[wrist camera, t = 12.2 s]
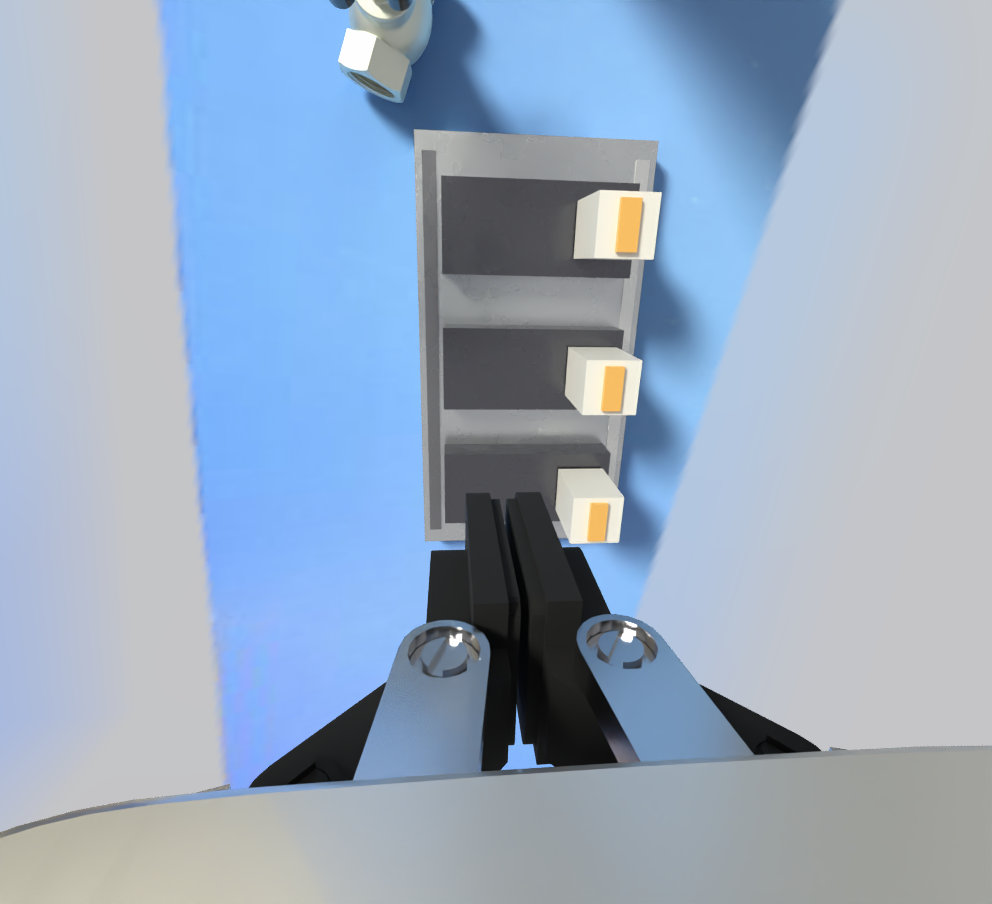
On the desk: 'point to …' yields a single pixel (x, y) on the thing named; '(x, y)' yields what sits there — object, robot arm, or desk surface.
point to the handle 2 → (589, 506)
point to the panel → (514, 312)
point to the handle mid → (602, 380)
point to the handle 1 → (617, 225)
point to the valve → (384, 43)
